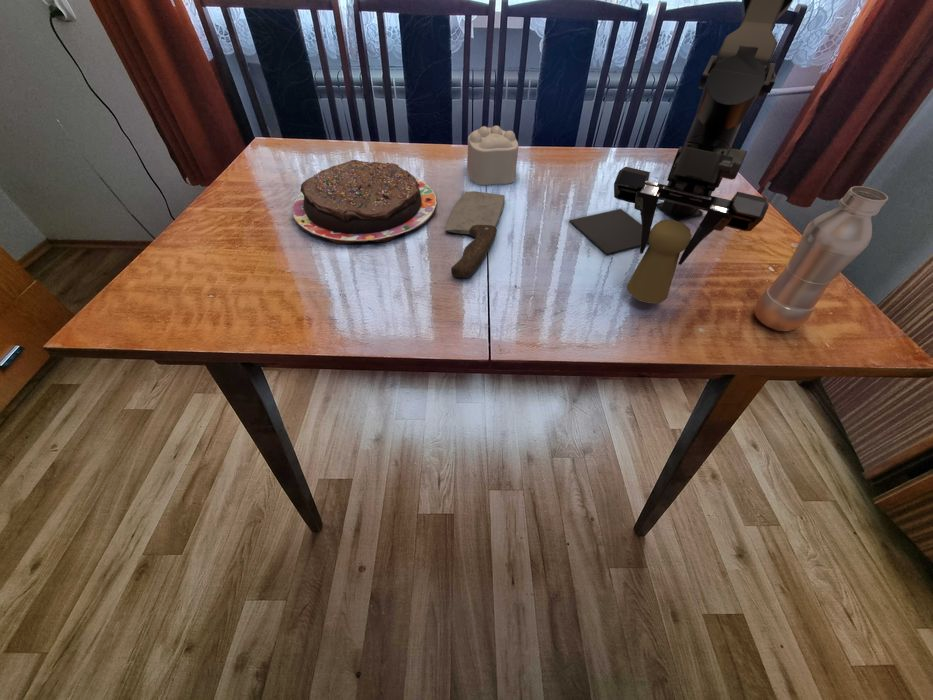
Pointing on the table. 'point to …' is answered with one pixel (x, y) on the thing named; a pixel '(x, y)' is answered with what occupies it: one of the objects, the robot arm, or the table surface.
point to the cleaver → (475, 227)
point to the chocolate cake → (363, 202)
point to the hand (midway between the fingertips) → (660, 258)
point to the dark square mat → (611, 231)
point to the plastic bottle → (820, 259)
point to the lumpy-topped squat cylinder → (492, 156)
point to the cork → (659, 261)
